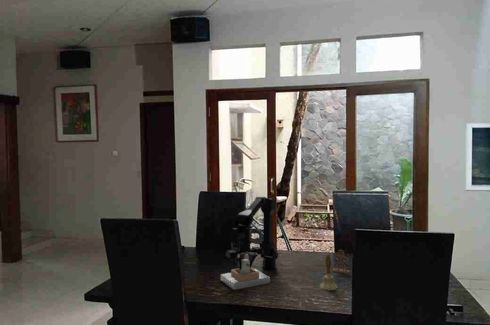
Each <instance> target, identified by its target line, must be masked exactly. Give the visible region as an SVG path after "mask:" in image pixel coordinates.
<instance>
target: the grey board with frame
mask: <svg viewBox="0 0 490 325" xmlns="http://www.w3.org/2000/svg"><path fill="white" fill-rule="evenodd" d="M220 281H221V282H223V283H224V284H225V285H226V286H228V287H229V288H231V289H232V290H233V291H234V290H240V289H247V288H250V287H251V288H252V287H256V286H262V285H267V284H270V283H271V277H270V276H268V275H267V274H265V273H263V272H262V271H260V270H258V269H257V268H253V267H251V268H250V273H248V274H243V275H240V270H239V268H233V269H231V270H230V272H227V273H226V272H225V273H221V274H220Z"/></svg>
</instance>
